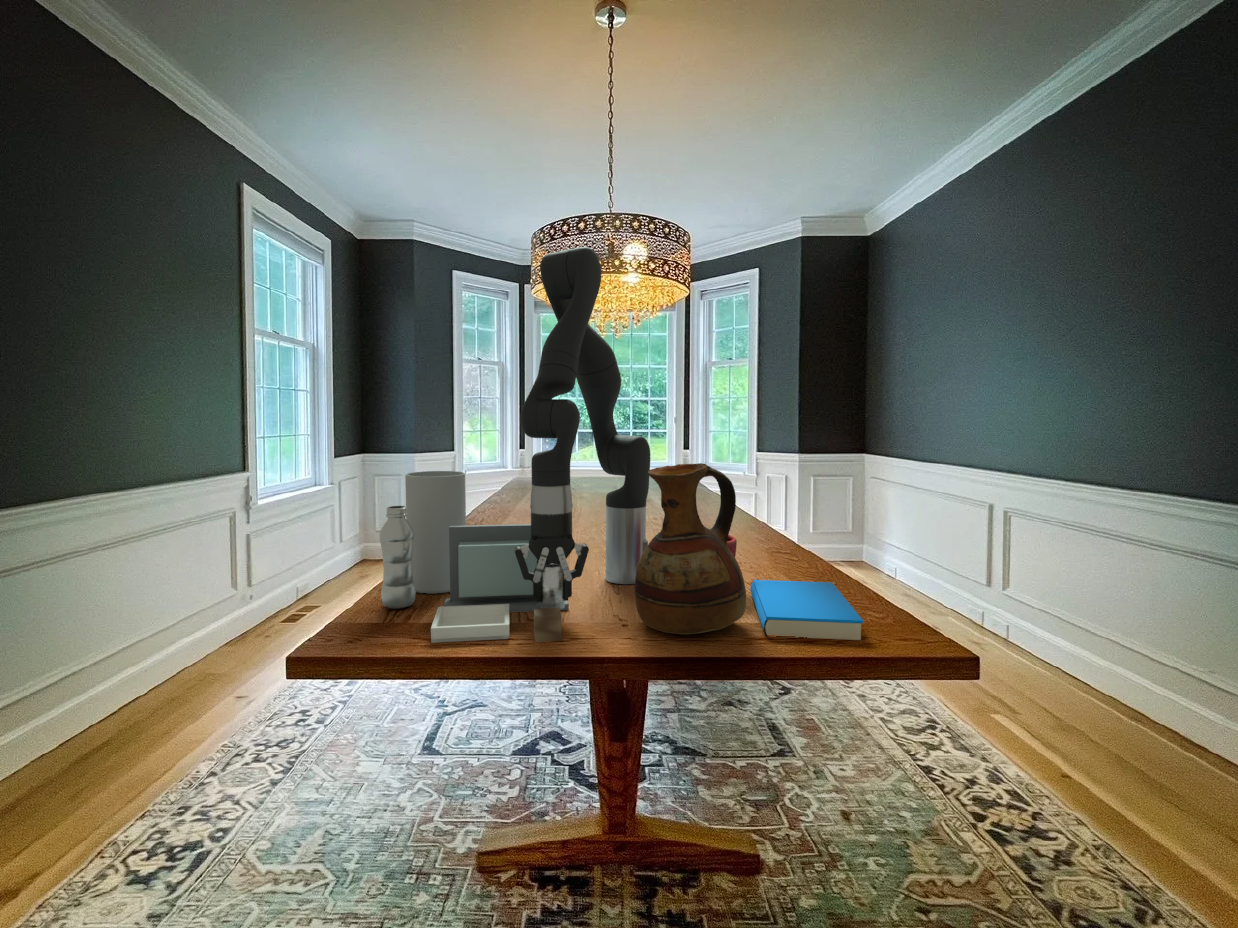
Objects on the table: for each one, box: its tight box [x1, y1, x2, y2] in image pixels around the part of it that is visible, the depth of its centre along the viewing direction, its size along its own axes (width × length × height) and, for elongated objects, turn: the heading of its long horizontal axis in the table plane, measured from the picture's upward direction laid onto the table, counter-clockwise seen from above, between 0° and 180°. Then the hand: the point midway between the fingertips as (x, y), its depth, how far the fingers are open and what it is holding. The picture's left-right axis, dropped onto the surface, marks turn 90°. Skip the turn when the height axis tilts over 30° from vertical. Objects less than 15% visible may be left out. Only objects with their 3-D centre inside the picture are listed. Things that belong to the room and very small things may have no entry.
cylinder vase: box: [404, 470, 467, 595], centre depth 143 cm, size 12×12×25 cm
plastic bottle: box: [379, 505, 417, 609], centre depth 129 cm, size 6×7×20 cm
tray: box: [430, 604, 510, 644], centre depth 117 cm, size 13×12×2 cm
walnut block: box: [533, 608, 563, 643], centre depth 113 cm, size 4×4×4 cm
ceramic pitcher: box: [634, 463, 747, 635], centre depth 119 cm, size 20×20×30 cm
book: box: [749, 579, 864, 641], centre depth 126 cm, size 17×4×25 cm
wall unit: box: [442, 523, 570, 613], centre depth 130 cm, size 24×7×16 cm, turn 100°
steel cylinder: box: [540, 563, 565, 611], centre depth 121 cm, size 4×4×8 cm
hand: (552, 599), depth 122 cm, fingers closed on steel cylinder, 4 cm apart
